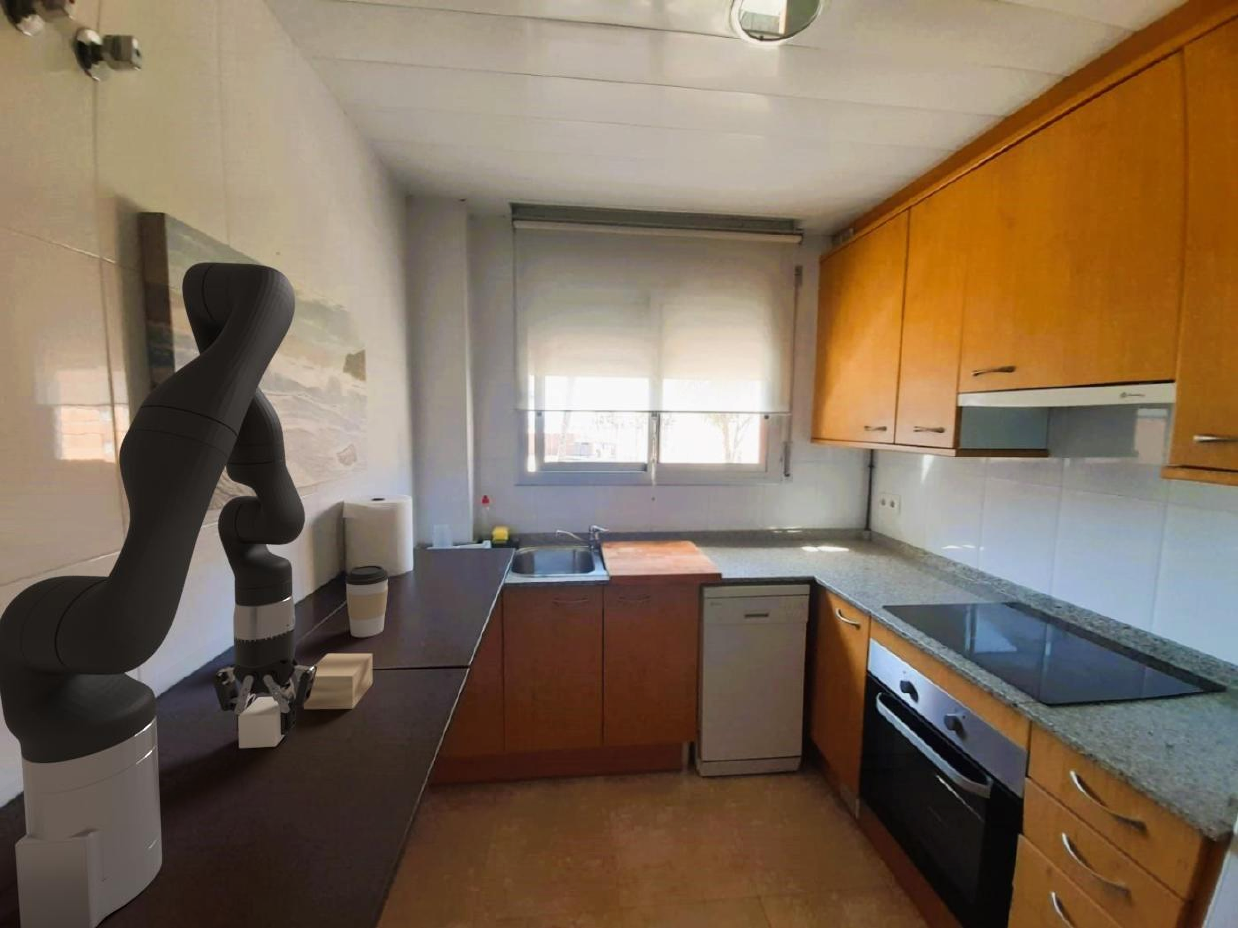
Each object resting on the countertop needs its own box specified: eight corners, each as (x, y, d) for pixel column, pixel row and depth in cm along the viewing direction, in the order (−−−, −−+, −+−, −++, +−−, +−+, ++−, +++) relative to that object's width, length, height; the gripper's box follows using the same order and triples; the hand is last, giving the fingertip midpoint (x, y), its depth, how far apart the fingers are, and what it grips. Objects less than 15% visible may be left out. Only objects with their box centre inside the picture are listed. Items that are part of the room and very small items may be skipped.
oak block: (352, 709, 82) (352, 675, 82) (303, 709, 82) (303, 676, 81) (372, 684, 90) (372, 653, 90) (327, 684, 90) (327, 653, 89)
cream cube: (275, 746, 72) (274, 714, 72) (239, 748, 72) (238, 716, 71) (293, 725, 77) (292, 695, 77) (259, 726, 76) (258, 697, 76)
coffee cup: (395, 623, 117) (395, 562, 115) (378, 639, 108) (378, 574, 106) (357, 622, 116) (357, 561, 115) (337, 638, 107) (336, 573, 106)
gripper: (194, 638, 68) (198, 751, 70) (303, 636, 70) (305, 746, 72) (229, 617, 76) (232, 719, 77) (327, 616, 78) (328, 715, 79)
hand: (267, 731), depth 74 cm, fingers closed on cream cube, 5 cm apart
